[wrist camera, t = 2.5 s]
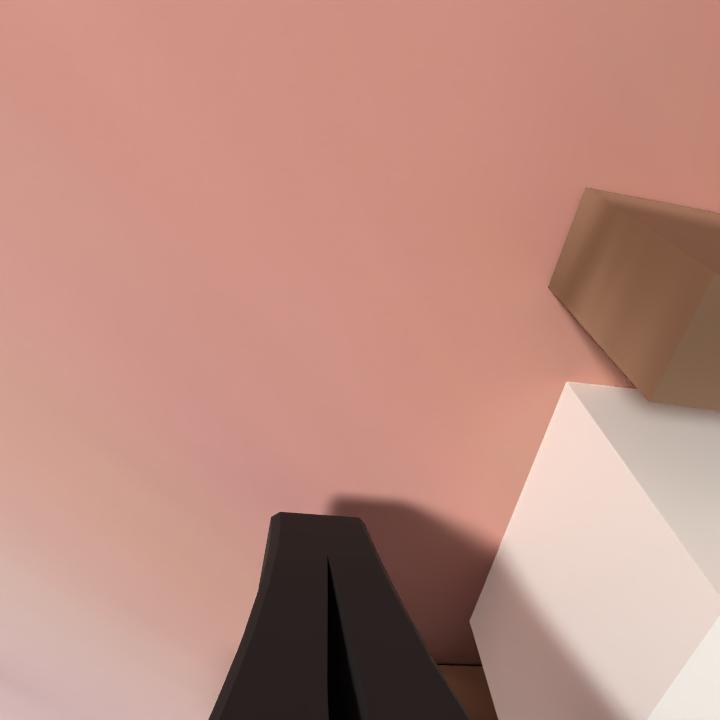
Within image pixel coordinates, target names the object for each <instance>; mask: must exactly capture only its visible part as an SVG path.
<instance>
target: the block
mask: <svg viewBox="0 0 720 720" xmlns="http://www.w3.org/2000/svg"><path fill="white" fill-rule="evenodd" d="M470 624H471V628H472V631H473V635H474V638H475V642H476V645H477V648H478V652H479V655H480V659H481V662H482V666H483V669H484V672H485V676H486V679H487V683H488V686H489V690H490V693H491V696H492V700H493V703H494V707H495V710H496V714H497V717H498V720H720V411H718V410H710V409H702V408H694V407H685V406H677V405H669V404H661V403H653V402H648V400H647V399H646V398H645V397H644V396H643V395H642V394H641V392H640V391H639V390H638V389H633V388H623V387H614V386H604V385H595V384H585V383H576V382H566V384H565V387H564V389H563V392H562V394H561V396H560V399H559V401H558V404H557V406H556V409H555V411H554V414H553V416H552V419H551V421H550V424H549V426H548V429H547V431H546V434H545V436H544V438H543V441H542V443H541V446H540V448H539V451H538V453H537V456H536V458H535V461H534V463H533V466H532V468H531V471H530V473H529V475H528V478H527V480H526V483H525V485H524V488H523V490H522V493H521V495H520V498H519V500H518V503H517V505H516V508H515V510H514V512H513V515H512V517H511V520H510V522H509V525H508V527H507V530H506V532H505V535H504V537H503V540H502V542H501V545H500V547H499V550H498V552H497V554H496V557H495V559H494V562H493V564H492V567H491V569H490V572H489V574H488V577H487V579H486V582H485V584H484V587H483V589H482V591H481V594H480V596H479V599H478V601H477V604H476V606H475V609H474V611H473V614H472V616H471V619H470Z"/></svg>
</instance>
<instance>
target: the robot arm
mask: <svg viewBox="0 0 720 720" xmlns="http://www.w3.org/2000/svg"><path fill="white" fill-rule="evenodd" d="M209 720H471V718H470V717H469V715H468V714H467V712H466V711H465V709H464V708H463V706H462V704H461V703H460V701H459V700H458V698H457V696H456V695H455V693H454V692H453V690H452V689H451V687H450V685H449V684H448V682H447V681H446V679H445V677H444V676H443V674H442V672H441V671H440V669H439V667H438V666H437V664H436V662H435V661H434V659H433V657H432V656H431V654H430V652H429V650H428V648H427V647H426V645H425V643H424V641H423V640H422V638H421V636H420V634H419V632H418V631H417V629H416V627H415V625H414V624H413V622H412V620H411V618H410V616H409V615H408V613H407V611H406V609H405V607H404V605H403V603H402V601H401V599H400V598H399V596H398V594H397V592H396V590H395V588H394V586H393V584H392V582H391V580H390V578H389V576H388V574H387V572H386V570H385V568H384V565H383V563H382V561H381V559H380V557H379V555H378V553H377V551H376V548H375V546H374V544H373V542H372V539H371V537H370V535H369V533H368V530H367V528H366V526H365V524H364V522H363V521H362V520H361V519H360V518H356V517H342V516H328V515H315V514H301V513H287V512H279V513H277V514H276V515H274V516H272V517H271V521H270V527H269V533H268V538H267V544H266V550H265V555H264V561H263V566H262V572H261V578H260V583H259V589H258V593H257V596H256V599H255V602H254V605H253V608H252V611H251V614H250V617H249V620H248V623H247V626H246V629H245V632H244V635H243V637H242V640H241V643H240V645H239V648H238V651H237V653H236V655H235V658H234V660H233V663H232V665H231V668H230V670H229V672H228V675H227V677H226V680H225V682H224V685H223V687H222V690H221V692H220V694H219V697H218V699H217V702H216V704H215V706H214V708H213V711H212V713H211V715H210V717H209Z"/></svg>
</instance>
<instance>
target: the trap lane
mask: <svg viewBox="0 0 720 720" xmlns="http://www.w3.org/2000/svg"><path fill="white" fill-rule="evenodd" d="M548 288H549V289H550V290H551V291H552V292H553V294H554V295H555V296H556V297H557V298H558V299H559V300H560V301H561V303H562V304H563V305H564V306H565V307H566V308H567V309H568V311H569V312H570V313H571V314H572V315H573V316H574V317H575V319H576V320H577V321H578V322H579V323H580V324H581V325H582V326H583V328H584V329H585V330H586V331H587V332H588V333H589V334H590V336H591V337H592V338H593V339H594V340H595V341H596V342H597V344H598V345H599V346H600V347H601V348H602V349H603V350H604V351H605V353H606V354H607V355H608V356H609V357H610V358H611V359H612V361H613V362H614V363H615V364H616V365H617V366H618V367H619V369H620V370H621V371H622V372H623V373H624V374H625V375H626V376H627V378H628V379H629V380H630V381H631V382H632V383H633V384H634V386H635V387H636V388H637V389H638V390H639V391H640V392H641V394H642V395H643V396H644V397H645V398H646V399H647V400H648V402H653V403H661V404H669V405H677V406H685V407H694V408H702V409H710V410H718V411H720V213H715V212H710V211H704V210H699V209H694V208H689V207H684V206H678V205H673V204H668V203H663V202H658V201H652V200H647V199H642V198H637V197H631V196H626V195H621V194H616V193H611V192H605V191H600V190H595V189H590V188H586V189H585V192H584V195H583V197H582V200H581V203H580V205H579V208H578V211H577V213H576V216H575V218H574V221H573V224H572V226H571V229H570V232H569V234H568V237H567V239H566V242H565V245H564V247H563V250H562V253H561V255H560V258H559V260H558V263H557V266H556V268H555V271H554V274H553V276H552V279H551V282H550V284H549V287H548ZM437 666H438V667H439V669H440V671H441V672H442V674H443V676H444V677H445V679H446V681H447V682H448V684H449V685H450V687H451V689H452V690H453V692H454V693H455V695H456V696H457V698H458V700H459V701H460V703H461V704H462V706H463V708H464V709H465V711H466V712H467V714H468V715H469V717H470V718H471V720H498V717H497V714H496V710H495V707H494V703H493V700H492V696H491V693H490V690H489V686H488V683H487V679H486V676H485V672H484V669H483V666H453V665H437Z"/></svg>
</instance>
